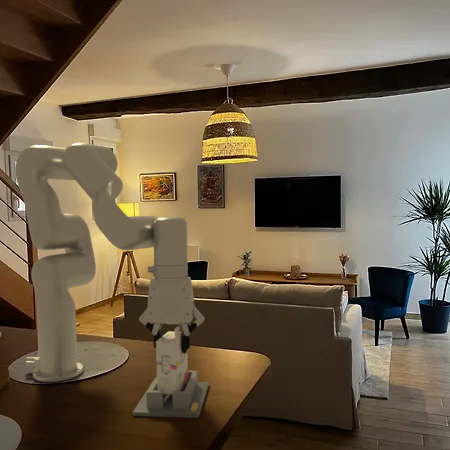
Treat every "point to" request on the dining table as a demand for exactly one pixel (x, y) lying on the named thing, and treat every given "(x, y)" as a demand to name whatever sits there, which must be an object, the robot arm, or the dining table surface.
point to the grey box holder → (174, 400)
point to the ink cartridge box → (171, 362)
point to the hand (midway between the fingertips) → (172, 350)
